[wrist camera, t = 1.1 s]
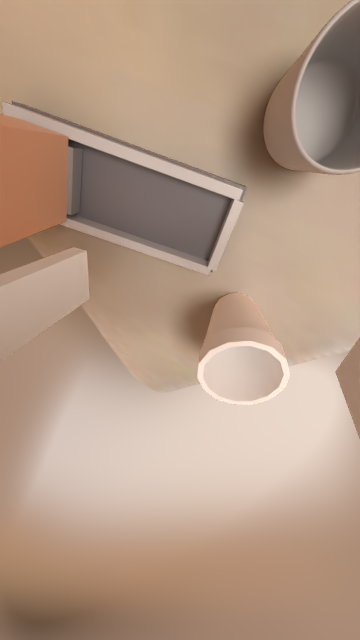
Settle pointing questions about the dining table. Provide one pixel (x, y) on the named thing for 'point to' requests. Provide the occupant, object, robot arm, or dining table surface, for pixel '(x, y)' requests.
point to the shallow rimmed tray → (146, 197)
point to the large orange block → (35, 179)
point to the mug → (320, 102)
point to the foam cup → (241, 354)
